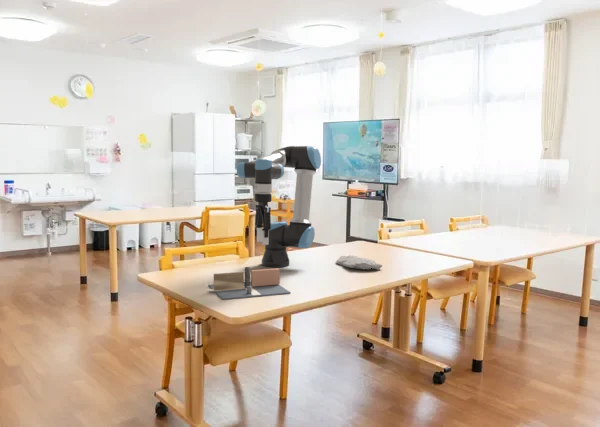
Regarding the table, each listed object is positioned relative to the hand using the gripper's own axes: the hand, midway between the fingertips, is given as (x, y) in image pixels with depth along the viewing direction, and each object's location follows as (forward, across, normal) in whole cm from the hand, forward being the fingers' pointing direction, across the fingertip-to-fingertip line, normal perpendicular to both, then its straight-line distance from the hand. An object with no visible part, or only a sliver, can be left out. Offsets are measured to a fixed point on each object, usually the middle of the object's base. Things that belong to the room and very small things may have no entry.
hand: (262, 243), depth 239 cm
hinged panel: (+18, +6, -1) cm, 19 cm away
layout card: (+19, +8, -9) cm, 23 cm away
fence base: (+18, +6, -16) cm, 25 cm away
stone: (+20, -21, +60) cm, 67 cm away
